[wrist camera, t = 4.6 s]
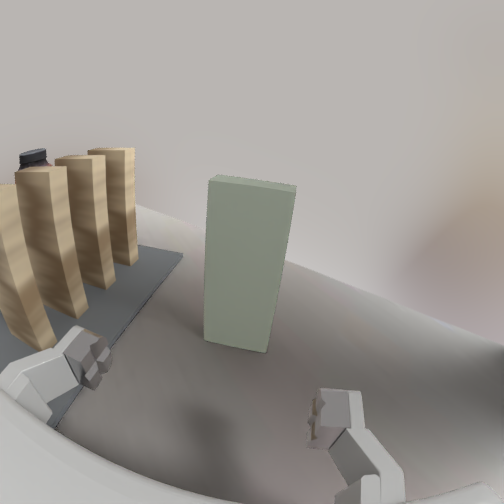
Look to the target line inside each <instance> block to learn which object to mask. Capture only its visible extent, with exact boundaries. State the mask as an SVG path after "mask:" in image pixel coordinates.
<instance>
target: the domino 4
mask: <svg viewBox="0 0 504 504" xmlns="http://www.w3.org/2000/svg"><path fill="white" fill-rule="evenodd" d="M88 155H105V167H106V194H107V210H108V222H109V232H110V242H111V250H112V258H113V262H114V263H118V264H123V265H127V266H132V265H133V264H134V263H135V262H136V261H137V260H138V259H139V258H138V246H137V232H136V213H135V179H134V178H135V167H134V166H135V148H97V149H92V150H88Z"/></svg>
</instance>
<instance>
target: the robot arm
mask: <svg viewBox="0 0 504 504" xmlns="http://www.w3.org/2000/svg"><path fill="white" fill-rule="evenodd" d="M107 345H108V341H107V338H106V337H104V336H101V335H99V334H96V333H94V332H92V331H89V330H87V329H85V328H82V327H80V326H78V325H76V326H73V327H72V328H71V329H70V330H69V332H68V333H67V334H66V335H65V336H64V337H63V338H62V339H61V340H60V342H59V343H58V344H57V345H56V346H55V347H54V348H48V349H46V350H43V351H40V352H38V353H35V354H32V355H30V356H27V357H24V358H22V359H19V360H16V361H14V362H11V363H9V364H8V366H7V367H6V368H5V369H4V370H3V371H2V373H1V374H0V504H244V503H238V502H232V501H227V500H222V499H218V498H213V497H209V496H205V495H201V494H197V493H194V492H190V491H186V490H183V489H180V488H177V487H173V486H170V485H167V484H164V483H161V482H159V481H156V480H153V479H150V478H148V477H145V476H143V475H140V474H138V473H135V472H133V471H131V470H128V469H126V468H124V467H121V466H119V465H117V464H115V463H113V462H111V461H109V460H107V459H105V458H103V457H101V456H99V455H97V454H95V453H93V452H91V451H89V450H87V449H86V448H84V447H82V446H80V445H79V444H77V443H75V442H73V441H72V440H70V439H68V438H67V437H65V436H64V435H62V434H60V433H59V432H57V431H56V430H54V429H53V428H51V427H50V426H48V425H47V424H46V423H47V421H48V420H49V418H50V417H51V415H52V410H51V409H50V407H49V406H48V405H47V403H48V402H49V401H51V400H53V399H55V398H56V397H58V396H60V395H62V394H63V393H65V392H67V391H69V390H70V389H72V388H74V387H76V386H77V385H79V384H81V385H83V386H85V387H87V388H89V389H92V390H94V391H95V390H96V388H97V387H98V385H99V384H100V382H101V381H102V374H104V373H106V372H108V370H109V369H110V367H111V364H112V353H111V351H110V349H109V348H108V347H107ZM308 424H309V425H310V428H309V430H308V432H307V440H306V448H313V449H325V450H328V452H329V453H330V455H331V457H332V459H333V460H334V462H335V464H336V466H337V467H338V469H339V471H340V473H341V474H342V476H343V478H344V479H345V481H346V483H347V484H348V487H347V488H345V489H344V490H342V491H341V492H339V493H338V494H336V495H335V500H334V504H503V500H502V498H501V497H500V496H499V495H498V494H497V493H496V492H495V491H494V490H493V489H492V488H491V487H490V486H489V485H487V484H486V483H485V482H477V483H474V484H471V485H468V486H465V487H462V488H459V489H456V490H453V491H450V492H447V493H443V494H439V495H436V496H432V497H428V498H424V499H419V500H415V501H410V502H406V498H405V483H404V472H403V470H402V469H401V467H400V466H399V465H398V464H397V463H396V461H395V460H394V459H393V458H392V457H391V455H390V454H389V453H388V452H387V450H386V449H385V448H384V447H383V446H382V444H381V443H380V442H379V441H378V439H377V438H376V437H375V436H374V435H373V433H372V432H371V431H370V430H369V429H365V421H364V412H363V403H362V394H361V392H360V391H353V390H343V389H329V388H319V389H318V390H317V392H316V399H314V400H313V401H312V403H311V405H310V409H309V413H308Z"/></svg>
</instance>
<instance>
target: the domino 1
mask: <svg viewBox="0 0 504 504" xmlns="http://www.w3.org/2000/svg"><path fill="white" fill-rule="evenodd" d="M15 183H16V190H17V198H18V205H19V212H20V218H21V223H22V229H23V234H24V238H25V243H26V247H27V252H28V256H29V260H30V264H31V267H32V271H33V275H34V278H35V281H36V285H37V288H38V291H39V294H40V297H41V300H42V303H43V304H44V305H46V306H48V307H50V308H52V309H55V310H57V311H59V312H61V313H64V314H66V315H68V316H70V317H73V318H75V319H79V318H80V316H81V315H82V314H83V313H84V312H85V311H86V310H87V309H88V308H89V307H88V303H87V299H86V295H85V291H84V287H83V283H82V278H81V274H80V269H79V264H78V259H77V254H76V248H75V242H74V236H73V230H72V223H71V215H70V206H69V196H68V184H67V167H66V166H44V167H28V168H25V169H23V170H20V171H17V172H15Z"/></svg>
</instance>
